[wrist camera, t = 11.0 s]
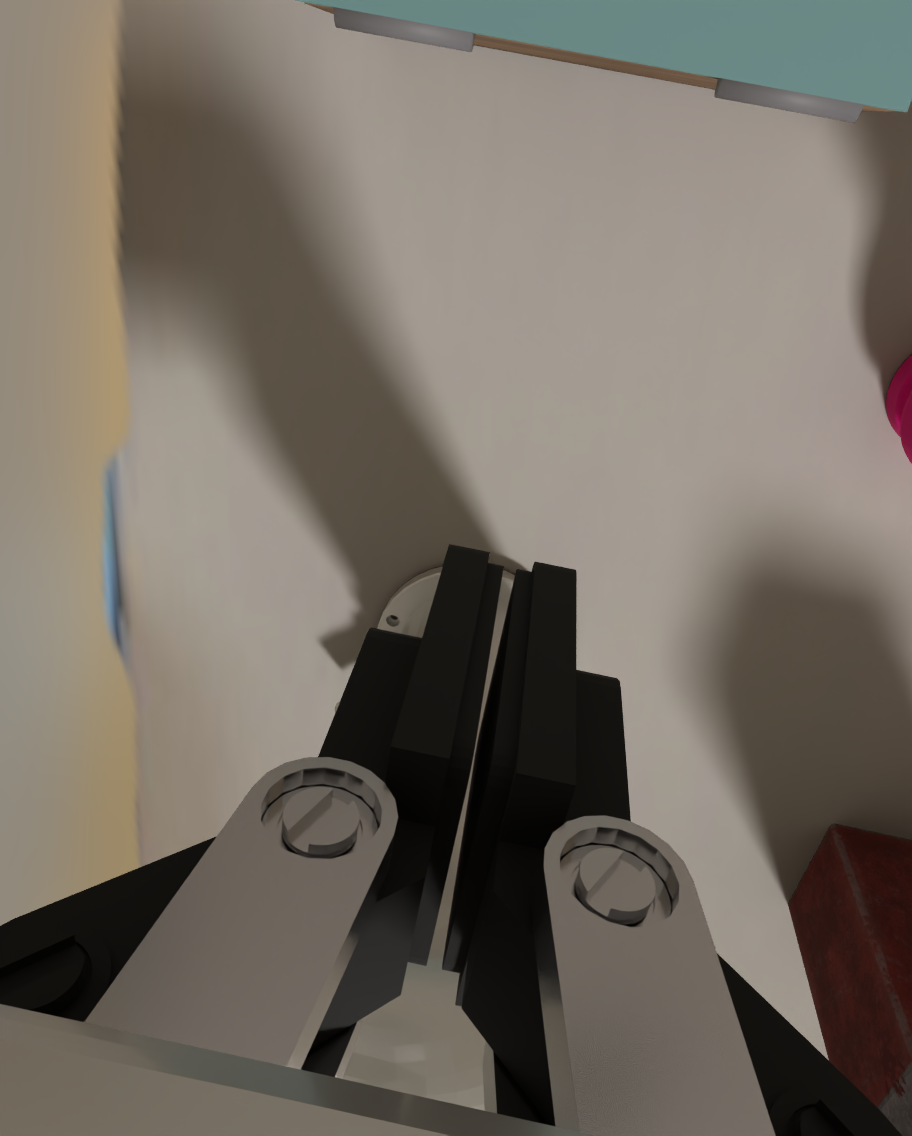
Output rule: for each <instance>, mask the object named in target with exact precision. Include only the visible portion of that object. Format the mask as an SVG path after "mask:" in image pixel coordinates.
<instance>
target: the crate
mask: <svg viewBox="0 0 912 1136" xmlns="http://www.w3.org/2000/svg"><path fill="white" fill-rule="evenodd" d="M304 3H305V2H304ZM305 4H308V5H310V6H313V7H316V8H319V9H321V10H324V11H327V12H330V13H332V14H334V8H332V7H327V6H321V5H316V4H311V3H305ZM473 45H476V46H482V47H487V48H492V49H498V50H503V51H509V52H514V53H520V54H525V55H530V56H536V57H541V58H547V59H552V60H558V61H563V62H568V63H574V64H579V65H585V66H590V67H596V68H601V69H606V70H612V71H617V72H623V73H628V74H634V75H639V76H644V77H650V78H655V79H661V80H666V81H672V82H677V83H682V84H688V85H693V86H699V87H704V88H710V89H716V85H717V81H718V78H713V77H708V76H702V75H697V74H691V73H686V72H681V71H675V70H670V69H664V68H659V67H653V66H648V65H642V64H637V63H632V62H626V61H621V60H615V59H610V58H604V57H599V56H593V55H588V54H583V53H577V52H572V51H566V50H561V49H555V48H550V47H545V46H539V45H534V44H528V43H523V42H517V41H512V40H506V39H501V38H496V37H490V36H485V35H479V34H475V39H474V44H473ZM862 111H887V112H894V111H893V110H887V109H882V108H876V107H871V106H865V105H864V107H863V109H862Z"/></svg>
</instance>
